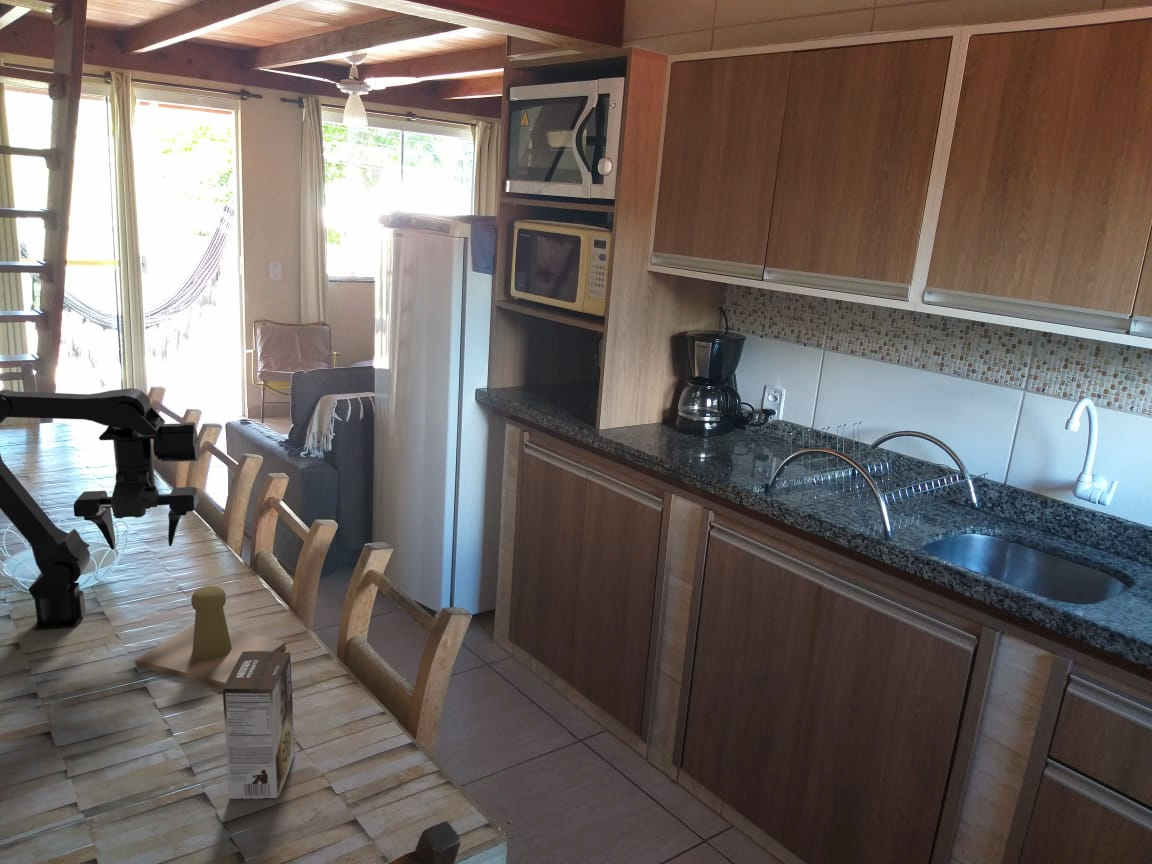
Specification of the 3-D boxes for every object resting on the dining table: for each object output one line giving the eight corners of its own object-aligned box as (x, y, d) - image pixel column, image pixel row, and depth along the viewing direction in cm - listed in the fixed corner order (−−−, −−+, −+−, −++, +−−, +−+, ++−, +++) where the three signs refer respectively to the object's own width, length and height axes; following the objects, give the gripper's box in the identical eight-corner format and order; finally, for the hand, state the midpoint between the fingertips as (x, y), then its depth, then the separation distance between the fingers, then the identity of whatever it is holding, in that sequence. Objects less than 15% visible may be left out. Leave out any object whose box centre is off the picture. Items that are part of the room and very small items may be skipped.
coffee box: (248, 755, 115) (242, 649, 111) (296, 754, 115) (292, 649, 111) (227, 800, 106) (219, 687, 102) (279, 800, 106) (274, 687, 102)
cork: (203, 664, 134) (199, 601, 131) (185, 650, 138) (180, 589, 135) (238, 650, 138) (235, 589, 136) (220, 637, 142) (216, 578, 139)
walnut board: (135, 666, 134) (135, 659, 134) (198, 627, 147) (198, 621, 147) (228, 690, 129) (228, 683, 129) (285, 648, 142) (285, 641, 142)
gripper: (59, 479, 134) (69, 569, 138) (185, 474, 139) (192, 561, 143) (78, 459, 144) (87, 543, 148) (195, 455, 149) (201, 537, 153)
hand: (142, 547), depth 148 cm, fingers open, 9 cm apart
